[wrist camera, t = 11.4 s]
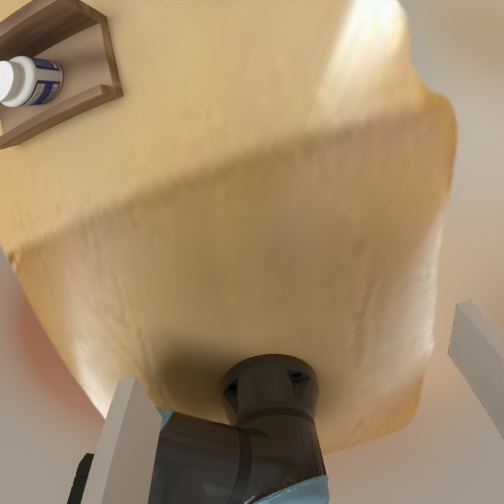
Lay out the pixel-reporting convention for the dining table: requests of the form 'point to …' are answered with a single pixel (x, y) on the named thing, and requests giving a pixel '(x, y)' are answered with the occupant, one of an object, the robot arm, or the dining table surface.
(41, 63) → the pill bottle
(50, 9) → the wooden display stand
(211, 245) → the dining table surface
